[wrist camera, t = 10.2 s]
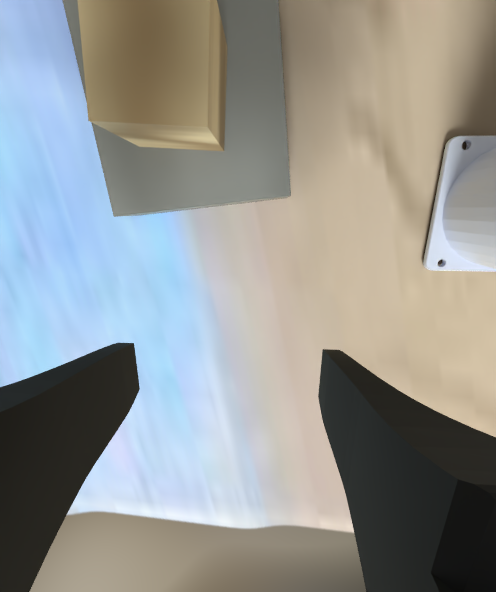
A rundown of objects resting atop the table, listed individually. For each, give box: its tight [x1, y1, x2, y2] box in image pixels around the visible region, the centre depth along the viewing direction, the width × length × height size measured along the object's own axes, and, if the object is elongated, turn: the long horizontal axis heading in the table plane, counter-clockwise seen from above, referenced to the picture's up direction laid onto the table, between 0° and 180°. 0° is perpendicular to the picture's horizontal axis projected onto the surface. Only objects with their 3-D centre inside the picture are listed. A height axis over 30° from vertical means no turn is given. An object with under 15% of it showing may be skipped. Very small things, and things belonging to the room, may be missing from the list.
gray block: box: [63, 0, 291, 216], centre depth 16 cm, size 10×10×4 cm
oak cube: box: [77, 0, 227, 151], centre depth 12 cm, size 4×4×4 cm
